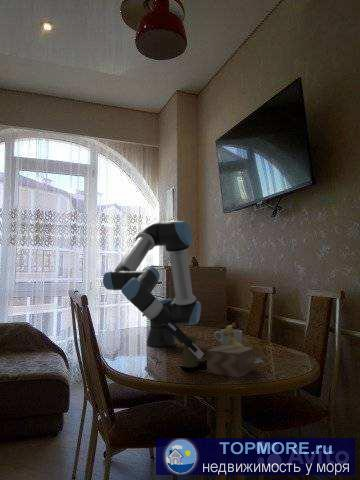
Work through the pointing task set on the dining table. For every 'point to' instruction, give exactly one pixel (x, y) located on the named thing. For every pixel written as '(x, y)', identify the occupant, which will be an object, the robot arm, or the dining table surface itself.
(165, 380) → the dining table surface
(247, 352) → the walnut block
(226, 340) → the teacup
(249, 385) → the dining table surface
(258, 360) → the stuffed giraffe
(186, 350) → the cork
